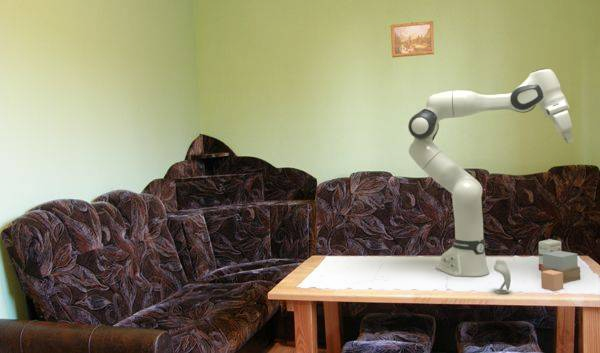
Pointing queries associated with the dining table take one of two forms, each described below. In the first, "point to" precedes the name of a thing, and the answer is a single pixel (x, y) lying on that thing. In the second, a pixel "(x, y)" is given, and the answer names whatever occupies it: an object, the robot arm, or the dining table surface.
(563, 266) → the slate block
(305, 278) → the dining table surface
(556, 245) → the ink box
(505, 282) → the figurine
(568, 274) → the walnut block
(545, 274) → the terracotta block
